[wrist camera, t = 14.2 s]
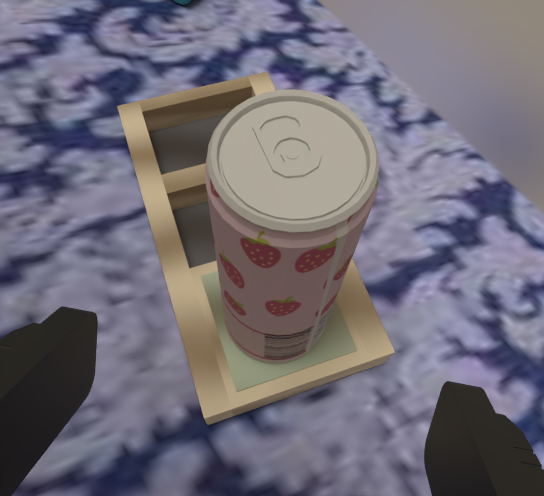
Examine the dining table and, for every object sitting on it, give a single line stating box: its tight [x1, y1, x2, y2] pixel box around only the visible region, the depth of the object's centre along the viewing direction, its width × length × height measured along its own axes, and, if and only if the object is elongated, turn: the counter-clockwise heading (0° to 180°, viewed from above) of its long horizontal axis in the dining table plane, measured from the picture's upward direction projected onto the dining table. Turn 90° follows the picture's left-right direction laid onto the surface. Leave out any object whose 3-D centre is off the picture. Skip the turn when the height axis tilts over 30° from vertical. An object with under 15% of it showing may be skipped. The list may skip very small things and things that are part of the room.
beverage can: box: [205, 90, 379, 363], centre depth 22 cm, size 6×6×15 cm
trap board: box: [117, 72, 395, 425], centre depth 33 cm, size 22×11×3 cm, turn 19°
